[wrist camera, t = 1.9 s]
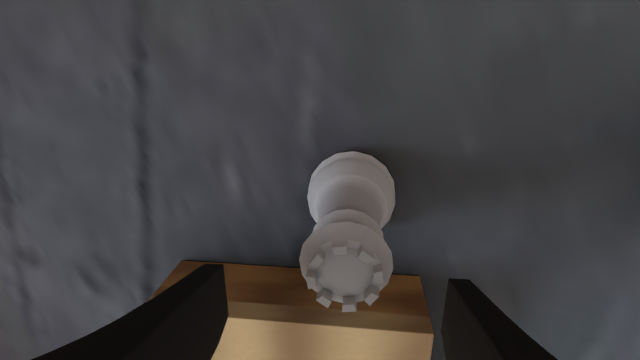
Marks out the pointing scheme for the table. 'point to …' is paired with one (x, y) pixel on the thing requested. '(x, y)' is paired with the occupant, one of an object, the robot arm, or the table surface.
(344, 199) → the rook chess piece
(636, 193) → the table surface
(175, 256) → the table surface
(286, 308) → the wooden tray
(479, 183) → the table surface
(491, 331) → the robot arm
